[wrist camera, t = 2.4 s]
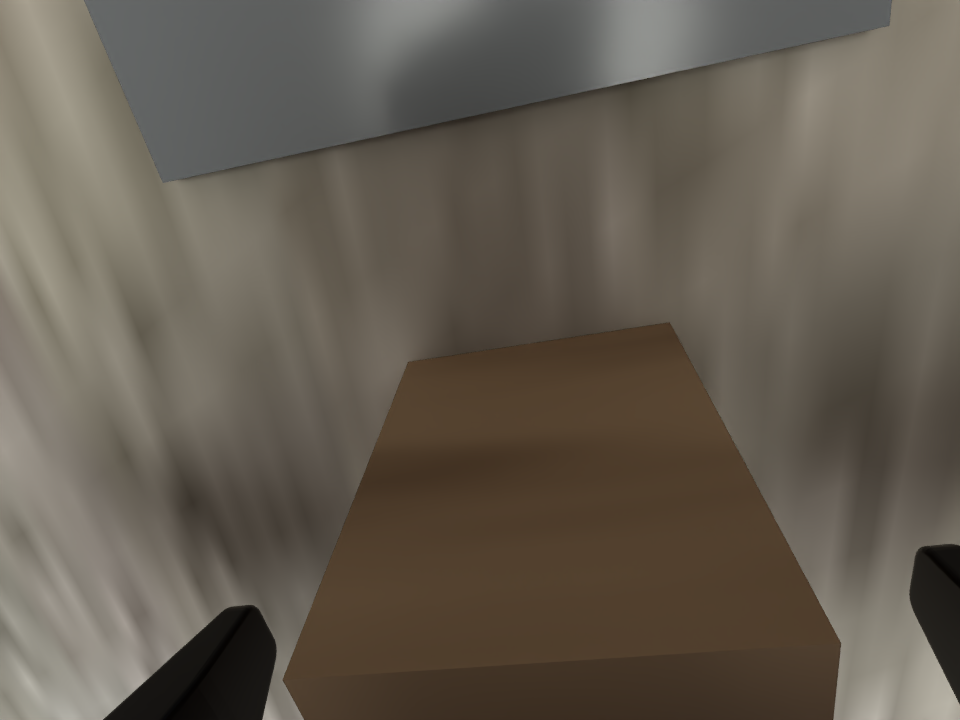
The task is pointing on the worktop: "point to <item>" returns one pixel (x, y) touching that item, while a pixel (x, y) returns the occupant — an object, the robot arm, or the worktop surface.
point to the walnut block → (562, 553)
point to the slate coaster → (409, 61)
